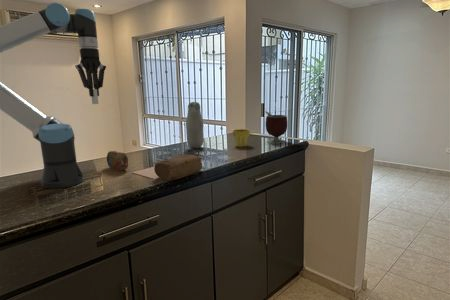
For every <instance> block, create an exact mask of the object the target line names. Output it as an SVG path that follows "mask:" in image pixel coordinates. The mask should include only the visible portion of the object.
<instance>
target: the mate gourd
mask: <svg viewBox="0 0 450 300" xmlns="http://www.w3.org/2000/svg"><path fill="white" fill-rule="evenodd" d="M264 113H266V114H267V115H266V118H265V130H266V132H267V134H268V135H270V136H271V137H273V139H268V140H266V143H267V144H270V143H272V145H275V144H274V143H283V144H286V143H287V141H286V140H285V139H280V137H281V136H283V135H285V134H286V132H287V129H288V116H287V115H285V114H272V113H270V112H268V111H266V110H264ZM285 142H286V143H285Z"/></svg>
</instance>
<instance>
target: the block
mask: <svg viewBox="0 0 450 300" xmlns="http://www.w3.org/2000/svg"><path fill="white" fill-rule="evenodd" d="M153 167H154V170H155V173H156V175H157V176H158V177H161V178H160V179H161V180H163V181H168V182H170V181H174V180H179V179H182V178H184V177H187V176H190V175H193V174H194V173H197V172H199V171H201V170H202V169H203V162H202V157H201V156H200V155H197V154H196V155H195V154H190V153H189V154H179V155H175V156H172V157H170V158H168V159H165V160H160V161H158V162H156V163H155V164H154V166H153Z"/></svg>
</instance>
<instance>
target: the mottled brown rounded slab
mask: <svg viewBox="0 0 450 300" xmlns="http://www.w3.org/2000/svg"><path fill="white" fill-rule="evenodd" d="M128 159H129V158H128V156H127V154H126V153H124V152H122V151H117V150H112V151H111V150H109V151H108V152H107V155H106V162H107V166H108V168H110V169H111V170H114V171H115V170H116V171H119V172H121V171H126V170H127V169H128V167H129V160H128Z"/></svg>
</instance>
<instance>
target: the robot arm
mask: <svg viewBox="0 0 450 300" xmlns="http://www.w3.org/2000/svg"><path fill="white" fill-rule="evenodd" d="M96 22H97V21H96V16H95V13H94V11H93V10H91V9H88V8H77V9H75V11H74V13H72V14H70V13H69V10H68V8H67V7H66V6H64V5H63V4H61V3H58V2H51V3H49V4H48V5H47V6H46V7H45V8H44V9H40V10H39V11H36V12H33V13H31V14H28V15H25V16H23V17H20V18H18V19H15V20H12V21H10V22H7V23H4V24H2V25H0V54H1V53H4V52H6V51H8V50H11V49H14V48H15V47H18V46H21V45H23V44H25V43H27V42H30V41H33V40H35V39H37V38H39V37H42V36H45V35H46V34H49V33H52V34H53V33H54V34H77V38H78V46H79V47H78V48H80V49H79V56H80V62H79V63H78V64H76V65H75V68H76V70H77V71H78V74H79V77H80V79H81V83H82V85H83V86H82V87H83V88H85V89H87V90H88V94H89V97H91V104H92V105H98V104H99V97H100V90H99V89H101V88H103V87H104V77H105V70H106V69H107V65H103V64H102V62H101V60H100V51H99V49H98V48H99V42H98V41H99V40H98V32H97V31H98V30H97V23H96ZM84 70H85V71H84ZM98 70H99V71H98ZM0 111H1V112H4V114H6V115H7V116H9V117H11V119H13V120H15V121H16V122H17V123H19V124H20V125H22V126H23V127H25V128H26V129H28V130H29V131H30V132H31V133H32V137H33V138H34V139H35V140H36V141H38V142H40V148H41V155H42V156H41V157H42V164H43V170H42V174H41V180H40V184H41V187H42V188H44V189H48V190H49V189H61V188H62V189H63V188H64V189H65V188H68V187H69V188H70V187H72V186H76V185H79V184H80V183H83V182H84V180H85V177H84V174H83V171H82V170H81V168H80V165H79V164H78V161H77V153H76V147H75V139H76V138H75V133H74V130H73V127H72V126H71V125H70V124H69V123H68V124H67V123H63V122H61V121H60V120H58V119H57V118H56V117H55V116H47V115H45V114H44V113H43V112H42V111H40V110H39V109H37V107H35V106H33V105H32V104H31V103H30V102H28V101H27V100H26V99H25V98H24V97H22V96H20V95H19V94H17V92H15V91H13V90H12V89H11V88H10V87H8V86H7V85H6V84H5V83H3V82H2V81H0Z"/></svg>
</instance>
